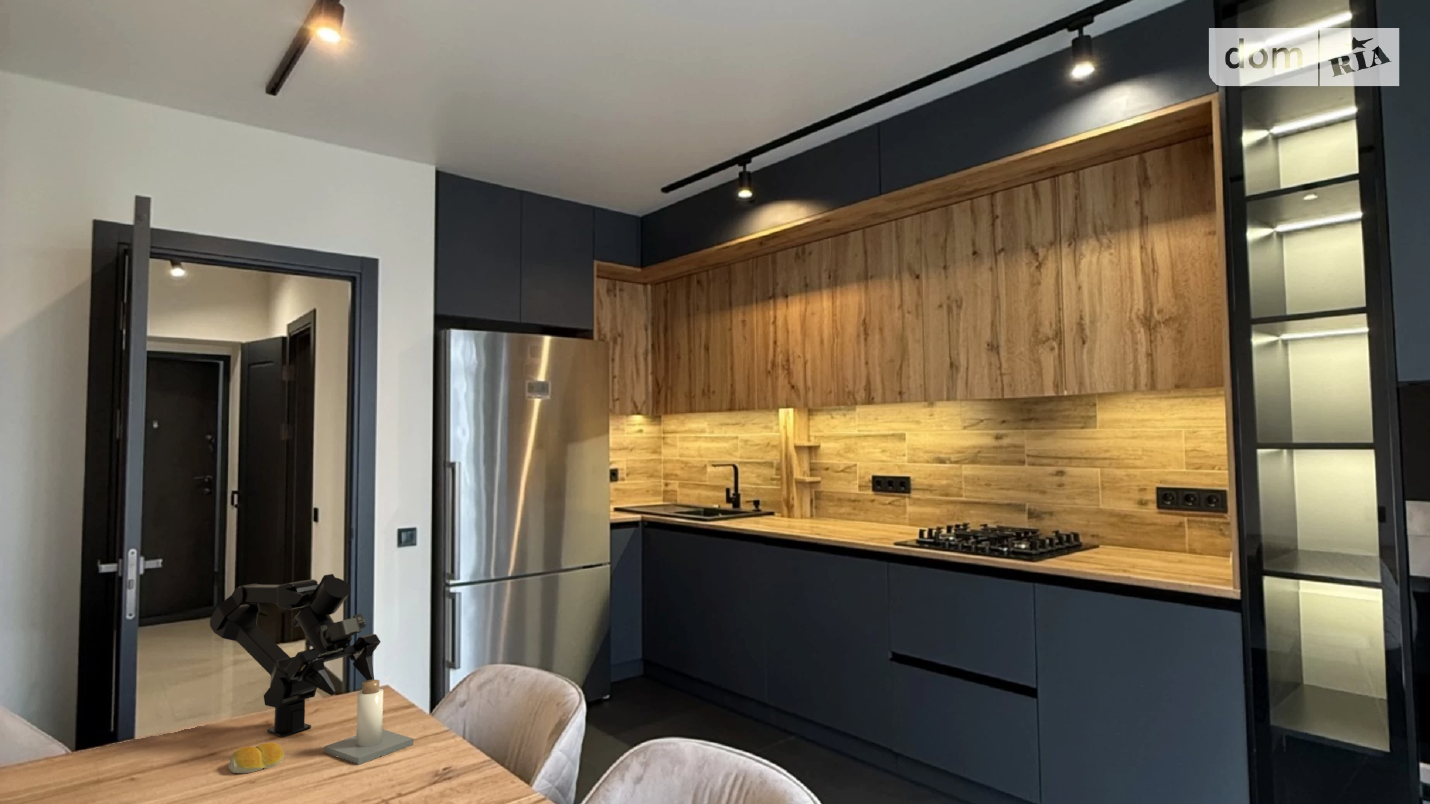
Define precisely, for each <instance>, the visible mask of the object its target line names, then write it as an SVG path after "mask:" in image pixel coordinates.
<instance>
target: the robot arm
mask: <svg viewBox="0 0 1430 804" xmlns="http://www.w3.org/2000/svg"><path fill="white" fill-rule="evenodd" d="M351 590H352V589H351V586H350V584H349V583H348V582H346V581H345V580H343V579H341V578H338V577H335V575H334V574H333V573H331V574H324V575H323V576H322V578H321V580H320V581H319V583H318V581H317V580H316V579H314V578H313V579H306V580H299V581H295V582H289V583H283V584H260V583H259V584H258V583H251V584H244V585H239V586H237V587H236V588H235V589H234V590H233V592H232V594H231V595H230V596H228V597H227V598H226V599H225V600H224V601H222V602H221V603H219V604H218V606H217V607H216V608H215V610H214V611H213V614H212V615H211V616H210V619H209V627H210V629H211V630H212V632H213V633H214V634H215V635H217V636H218V637H220V638H221V639H223V640H229V641H233V642H237V643H238V644H239V645H240V646H241V648H243V650H245V651H246V652H247V653H248V654H249V655H250V657H252V658H253V659H254V660H255V662H257V664H259V665H260V666H261V667H262V669H264V670H265V671H266V672H267V673H268V674H269V675H270V682H269V688H268V689H267V690H266V692H265V693H264V694H263V701H264V705H265V706H266V707H272V708H274V723H273V724H274V726H273V727H270V728H267V729H266V732H268V733H269V734H273V735H275V736H278V737H286V736H290V735H293V734H296V733H298V732H302V731H305V730H308V729H311V728H312V725H311V724H309V723H306V719H305V718H306V717H305V716H306V700H307V699H310V698H315V696H316V692H317V689H318V690H321V691H322V692H324V693H326V694H328V695H330V696H331V697H332V696H334V695H335V694H336V693H337V691H336V688H335V686H334V683H333V682H332V679H330V676H329V675H328V673H327V670H326V669H325V663H326V662H330V661H335V660H338V659H341V658H344V657H345V658H347V657H349V659H350V660H351V661H353V663H352V665H353V667H355V668H356V670H357V671H358V672H359V673H360V674H361V676H362V677H363V678H364V679H365V681H367V680H375V675H374V673H375V672H374V666H373V654H374V652H375V650H376V649H377V648H378V646H379V645H380V644H381V640H380V638H379V637H378V635H377V634H376V633H370V634H366V635H362V636H359V637H358V638H357V639H356V641H355V642H354V643H353V644H351V645H348V643H350V642H351V641H352V640H353V638H352V636H354V635H356V634H360V633H362V629H364V628H365V627H366V625H367V623H366V620H365V618H364V616H362V613H357V614H353V616H350V617H349V618H346V619H342V620H339V621H336V622H334V620H333V618H332V616H331V615H334V614H335V613H336V612H337V611H338V610H339V609H340V607H341V606H342V604H343V603H344V601H346V599H347V598H348V596H349V595H350V594H351ZM247 603H248V604H247ZM260 604H275V605H277V607H278V608H280V609H283V610H286V611H290V610H295V609H300V608H301V609H300V611H299V612H298V613H294V618H293V620H292V628H296V627H301V629H302V631H303V633H304V634H305V636H306V638H307V640H306V642H305V645H306V647H307V648H310V647H312V648H310V649H305V650H301V651H298V652H297V653H296V654H295V656H293V657H291V656H290V655H288V653H287V652H285V651H284V650H283V649H282V648H281V647H280V646H279V645H278V644H277V643H276V642H275V641H274V640H273V639H272V638H271V637H270V636H269V635H268V634H267V633H266V632H264V630H263V629H262V628H261V627H259V625H258V616H259V614H260V612H261V606H260Z"/></svg>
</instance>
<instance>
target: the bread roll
mask: <svg viewBox="0 0 1430 804" xmlns="http://www.w3.org/2000/svg"><path fill="white" fill-rule="evenodd" d="M284 752H285V751H284V748H283V747H282V746H281V745H280V744H278V743H276V742H267V743H262V744H257V745H256V746H245V747H241V748H238V749H237V750H236V751H235V752H233V754H232V755H231V758H230V761H229V764H228V766H227V767H228V768H229V771H230V772H231V773H233V774H235V773H243V774H250V772H251V773H254V771H256V772H258V771H257V770H259V771H261V770H266V769H265V768H267V769H269V768H268V767H271V768H273V766H274V767H276V766H277V765H279V763H280V762H282V760H283V758H284V757H285V753H284ZM275 765H276V766H275ZM263 768H264V769H263Z"/></svg>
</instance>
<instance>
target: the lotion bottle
mask: <svg viewBox="0 0 1430 804" xmlns="http://www.w3.org/2000/svg"><path fill="white" fill-rule="evenodd" d="M380 682H381V681H380V680H379V679H374V680H364V681H362V683H361V685H362V686H361V687H362V688H361V690H359V691H358V692H357V703H356V704H357V705H356V706H357V707H356V729H355V731H356V733H355V734H356V735H355V736H356V745H357V746H360V747H367V746H373V745H376V744H379V743H380V742H381V741H382V729H383V721H384V719H383V716H384V711H383V709H384V689H383V688H380Z"/></svg>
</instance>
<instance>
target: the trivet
mask: <svg viewBox="0 0 1430 804" xmlns="http://www.w3.org/2000/svg"><path fill="white" fill-rule="evenodd" d="M413 745H414V738H413V737H409V736H406V735H403V734H399V733H397V732H393V731H391V730H387V729H383V728H382V741H381V742H380V743H379V744H376V745H373V746H367V747H360V746H357V745H356V735H354V736H351V737H348V738H345V739H342V740H338V741H336V742H332V743H329V744H326V745H324V746H323V753H324V752H325V754H327V753H329V754H328V755H330V754H332V755H331V756H333V757H335V756H338V757H340V758H339V759H341V758H343V759H342V760H344V759H345V760H344V761H347V760H349V761H350V763H352V762H353V763H352V764H355V763H357V764H356V765H358V766H359V765H362V764H365V763H368V762H370V761H373V760H376V759H378V758H381V757H383V756H386V755H389V754H392V753H394V752H397V751H399V750H403V749H405V747H406V748H408V747H410V746H413ZM407 746H408V747H407ZM380 756H381V757H380ZM338 757H337V758H338ZM375 758H376V759H375ZM369 760H370V761H369ZM349 761H348V762H349ZM367 761H368V762H367ZM361 763H362V764H361Z"/></svg>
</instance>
